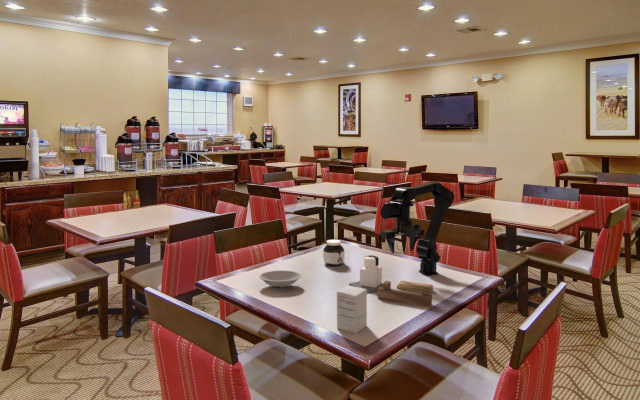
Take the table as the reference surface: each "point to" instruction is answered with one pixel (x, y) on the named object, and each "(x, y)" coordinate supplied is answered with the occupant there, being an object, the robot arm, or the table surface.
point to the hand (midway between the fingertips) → (402, 252)
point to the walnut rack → (405, 295)
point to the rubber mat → (369, 289)
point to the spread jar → (333, 253)
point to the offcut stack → (414, 286)
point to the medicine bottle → (371, 272)
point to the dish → (280, 278)
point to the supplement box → (351, 309)
